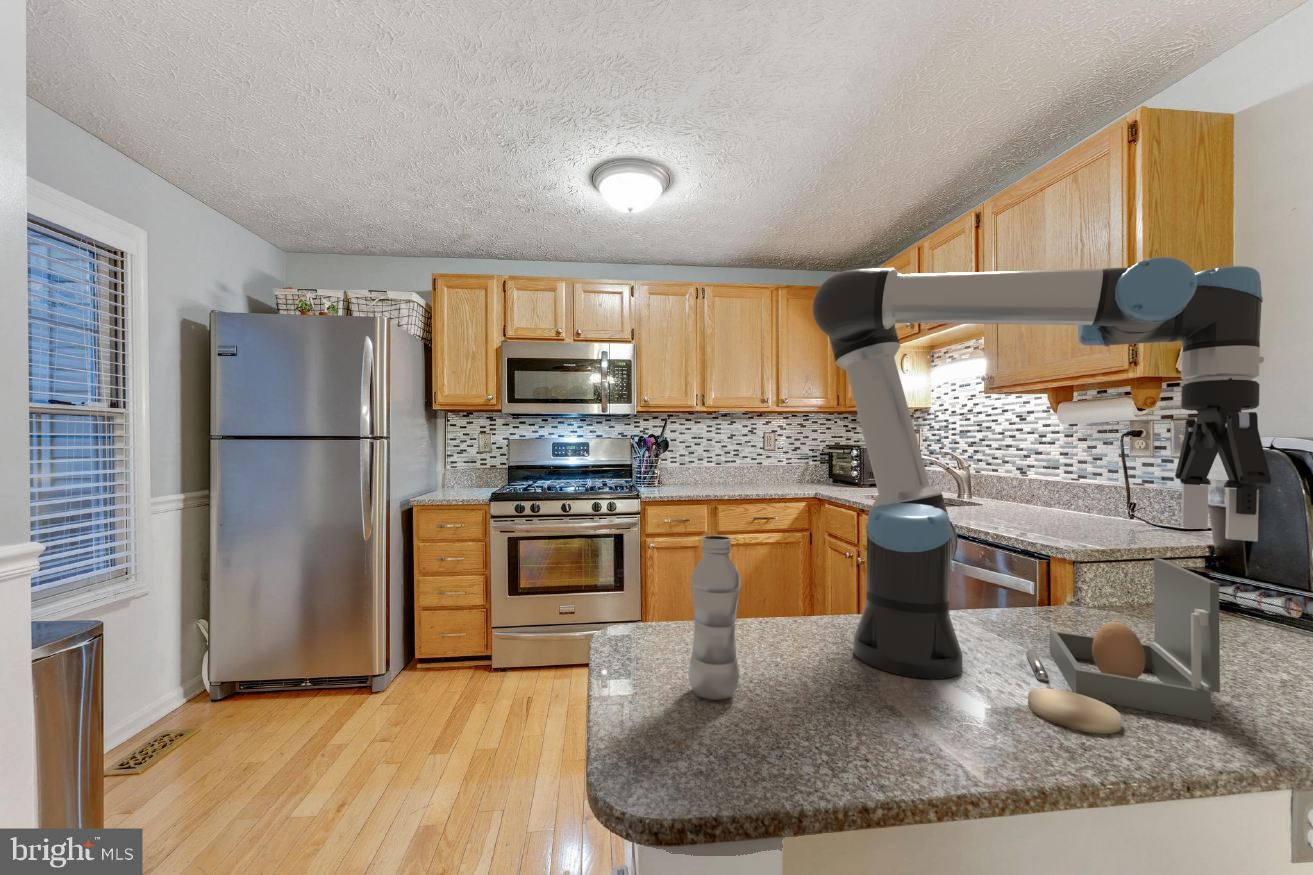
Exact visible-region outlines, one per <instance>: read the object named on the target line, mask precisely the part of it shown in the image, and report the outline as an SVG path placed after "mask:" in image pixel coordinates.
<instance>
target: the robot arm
mask: <svg viewBox="0 0 1313 875" xmlns="http://www.w3.org/2000/svg"><path fill="white" fill-rule="evenodd" d="M1262 294H1263V293H1262V281H1261V274H1260V272H1259V271H1258V270H1257V269H1255V268H1253V267H1250V266H1244V265H1234V266H1233V265H1232V266H1231V265H1230V266H1223V267H1216V268H1213V269H1205V270H1201V271H1198V272H1194V270H1193V269H1192V268H1191V267H1190V265H1188V264H1187V263H1186V262H1185V261H1182V260H1180V259H1177V258H1175V257H1174V258H1173V257H1170V256H1168V257H1167V256H1163V257H1162V256H1158V257H1151V258H1147V259H1144V260H1141V261H1139V262H1138V263H1135V264H1133V265H1132V266H1130V267H1129V266H1128V267H1110V268H1109V267H1107V268H1090V269H1088V268H1087V269H1086V268H1085V269H1083V268H1082V269H1079V268H1078V269H1055V270H1054V269H1051V270H1050V269H1049V270H1016V271H1013V270H1011V271H984V272H983V271H978V272H975V271H974V272H945V273H941V272H940V273H910V274H908V273H906V274H902V273H900V272H899V271H898V270H897V269H896V268H894V267H884V268H881V267H880V268H858V269H849V270H848V269H847V270H844V271H841V272H838V273H836V274H833V275H832V276H830V277H828V278H827V279H826V280H825V281H824V282H823V283H822V284H821V285H820V286H819V288H818V289H817V291H816V293H815V295H814V298H813V302H812V303H813V304H812V314H813V319H814V321H815V323H816V325H817V326H818V328H819V329H820V330H821V331H822V332H823V333H824V334H825V335H827V336H828V338H829V342H830V346H831V349H832V353H833V358H834V361H835V365H836V366H837V367H840V368H841V369H843V370H845V371H846V373H847V378H848V382H849V386H850V389H851V393H852V397H853V401H854V405H855V409H856V412H857V417H858V419H859V424H860V428H861V431H862V432H861V433H862V435H863V439H864V442H865V447H866V450H867V455H868V458H869V462H870V465H871V469H872V474H873V478H874V480H875V481H874V482H875V485H876V489H877V493H878V494H877V497H876V498H875V500H874V502H873V503H872V508H871V509H870V510H869V511H868V515H867V521H866V522H867V523H866V525H865V531H866V533H865V534H866V588H865V589H866V590H865V591H866V592H865V593H866V594H865V595H866V598H865V606H864V608H863V611H862V613H861V617H860V619H859V622H858V624H857V628H856V630H855V632H854V633H855V634H854V636H853V653H854V655H855V656H856V657H857V659H859V660H860V661H861V662H863V663H865V664H867V665H869V666H871V667H874V668H876V669H878V670H882V671H885V672H888V673H892V674H894V675H895V674H896V675H900V676H905V677H911V678H918V679H930V680H931V679H947V678H948V679H949V678H953V677H956V676H958V675H960V674H961V673H962V671H963V651H962V650H961V646H960V644H959V640H958V638H957V637H958V636H957V634H956V632H955V628H954V625H953V622H952V619H951V615H950V582H951V581H950V579H951V578H950V576H951V575H950V572H951V568H950V567H951V563H952V561H953V559H954V558H955V556H956V553H957V550H958V542H959V541H958V533H957V530H956V528H955V525H953V522H952V521H951V520H950V517H949V514H948V510H947V506H946V503H945V500H944V499H945V498H944V496H943V493H942V491H941V490H939V489H937V488H935V487H933V486H932V484H930V482H929V477H928V474H927V470H926V467H925V463H924V460H923V455H922V453H921V449H920V445H919V442H918V438H917V434H916V430H915V428H914V423H913V420H912V416H911V411H910V409H909V404H908V402H907V398H906V396H905V391H904V388H903V384H902V381H901V380H902V379H901V377H900V373H899V369H898V366H897V363H896V359H895V357H896V355H897V353H898V352H899V350H900V349H901V343H900V340H899V339H900V338H899V336H898V332H897V328H896V324H949V325H951V324H953V325H954V324H955V325H956V324H957V325H958V324H961V325H964V324H965V325H1034V326H1035V325H1037V326H1039V325H1042V326H1043V325H1046V326H1047V325H1048V326H1049V325H1052V326H1053V325H1054V326H1058V325H1059V326H1061V325H1062V326H1077V337H1078V338H1077V339H1078V341H1079V343H1080V344H1081V345H1083V346H1089V347H1090V346H1091V347H1092V346H1093V347H1095V346H1098V347H1100V346H1103V347H1110V346H1118V345H1119V346H1120V345H1133V344H1134V345H1136V344H1137V345H1138V344H1139V345H1140V344H1154V343H1174V342H1181V343H1182V344H1181V345H1182V353H1181V370H1180V372H1181V373H1180V378H1181V380H1182V381H1184V382H1186V383H1183V385H1182V386H1181V392H1180V393H1181V398H1180V399H1181V401H1180V406H1181V408H1182V409H1183V410H1185V411H1189V412H1191V411H1196V412H1197V415H1196V417H1197V418H1187V419H1186V421H1185V426H1184V428H1185V430H1184V436H1183V440H1182V445H1181V447H1180V448H1181V449H1180V454H1179V457H1178V463H1177V467H1176V470H1175V474H1174V478H1175V479H1177V480H1179V481H1180V484H1181V515H1180V517H1181V518H1180V520H1181V521H1180V527H1181V528H1187V529H1189V528H1190V529H1200V530H1201V529H1202V530H1208V528H1209V527H1208V524H1209V522H1208V521H1209V520H1208V519H1209V486H1211V485H1212V483H1211V480H1210V478H1208V476H1209V473H1210V471H1211V469H1212V466H1213V464H1214V462H1215V460H1216V458H1217V455H1218V456H1219V458H1220V460H1221V462H1222V465H1223V468H1224V471H1225V473H1226V474H1225V475H1226V476H1227V480H1226V481H1225V483H1224V484H1223V487H1224V488H1225V489H1226V496H1225V497H1226V498H1225V502H1226V504H1225V537H1224V538H1225V539H1226V540H1235V541H1246V542H1247V541H1248V542H1258V541H1259V540H1258V539H1259V507H1260V506H1259V503H1260V502H1259V501H1260V499H1259V496H1260V495H1259V494H1260V491H1259V490H1262V488H1263V485H1264V486H1265V485H1266V486H1267V485H1268V486H1269V485H1270V484H1271V482H1272V478H1271V477H1272V476H1271V473H1270V470H1269V467H1268V463H1267V458H1266V455H1265V450H1264V447H1263V446H1264V445H1263V444H1262V439H1261V436H1260V431H1259V424H1258V413H1257V412H1256V411H1255V412H1254V411H1252V412H1251V411H1250V412H1249V411H1248V410H1254V409H1257V408H1258V407H1259V406H1260V386H1261V385H1260V383H1259V382H1258V381H1256V380H1253V379H1255V378H1257V377H1259V376H1260V364H1262V363H1263V362H1264V360H1265V357H1264V356H1260V352H1261V348H1260V347H1261V346H1260V344H1261V342H1260V339H1261V321H1262V320H1261V319H1262V318H1261V317H1262V303H1263V302H1264V300H1263V295H1262Z"/></svg>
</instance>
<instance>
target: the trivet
mask: <svg viewBox="0 0 1313 875" xmlns="http://www.w3.org/2000/svg"><path fill="white" fill-rule="evenodd" d="M1027 706H1028V708H1029V709H1030V710H1031V712H1033V713H1034V714H1036V715H1037V716H1038V717H1041V718H1042V719H1045V720H1046V721H1048V722H1051V723H1052V724H1053V723H1054V724H1055V725H1056V724H1057V725H1059V726H1061V727H1065V728H1068V729H1072V730H1076V731H1080V732H1083V733H1085V732H1086V733H1091V734H1099V735H1100V734H1101V735H1108V734H1109V735H1112V734H1116V733H1119V732H1120V731H1121V730H1122V715H1121V713H1120V712H1119V711H1118V710H1117V709H1115V708H1114V707H1112V706H1110V704H1108V703H1105V702H1101V701H1098V700H1096V699H1093V698H1090V697H1087V696H1084V695H1081V694H1077V693H1073V691H1067V690H1062V689H1054V688H1035V689H1032V690H1030V691H1028V693H1027Z"/></svg>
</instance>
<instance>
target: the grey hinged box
mask: <svg viewBox="0 0 1313 875" xmlns="http://www.w3.org/2000/svg"><path fill="white" fill-rule="evenodd" d="M1153 561H1154V562H1153V563H1154V564H1153V565H1154V567H1153V568H1154V569H1153V570H1154V571H1153V573H1154V574H1153V575H1154V583H1153V584H1154V588H1153V589H1154V590H1153V591H1154V597H1153V598H1154V599H1153V600H1154V601H1153V602H1154V615H1153V616H1154V641H1152V642H1151V644H1147V643H1142V642H1141V644H1142V646H1143V648H1144V652H1145V660H1146V662H1145V668H1144V670H1150V672H1152V674H1154V675H1155V676H1156V677H1157V678H1158V680H1160V681H1153V680H1147V679H1142V678H1131V677H1125V676H1119V675H1113V674H1107V673H1102V672H1101V671H1094V670H1088V669H1083V668H1082V667H1081V666H1080V664H1079V663H1078V661H1077V660H1076V659H1084V660H1089V661H1094V659H1093V656H1092V644H1093V639H1094V637H1095V636H1093V635H1092V636H1091V635H1085V634H1084V635H1083V634H1079V633H1072V632H1064V631H1057V630H1052V629H1051V630H1049V653H1050V655H1051V657H1052V658H1053V660H1054V661H1055V664H1056V666H1057V668H1058V669H1059V670H1060V672H1061V674H1062V676H1063V677H1064V679H1065V681H1066V682H1067V684H1068V686H1069V688H1070V689H1071V692H1073V693H1077V694H1081V695H1084V696H1087V697H1090V698H1093V699H1096V700H1098V701H1101V702H1103V703H1105V704H1109V705H1110V704H1111V705H1117V706H1121V707H1127V708H1133V709H1136V710H1137V709H1139V710H1143V711H1148V712H1154V713H1159V714H1163V713H1165V714H1164V715H1170V716H1174V715H1176V717H1179V716H1180V718H1185V717H1187V719H1190V720H1195V719H1196V721H1201V720H1203V721H1202V722H1207V723H1212V702H1211V699H1212V696H1215V693H1221V684H1220V683H1221V680H1220V679H1221V677H1220V672H1221V671H1220V669H1221V667H1220V666H1221V665H1220V664H1221V662H1220V660H1221V658H1220V656H1221V655H1220V654H1221V653H1220V647H1221V646H1220V583H1218V582H1216V581H1213V580H1211V579H1209V578H1207V577H1204V576H1202V575H1199V574H1198V573H1195V572H1192V571H1190V570H1189V569H1186V568H1185V567H1184V568H1183V567H1181V566H1179V565H1177V564H1175V563H1172V562H1170V561H1167V560H1165V559H1163V558H1159V557H1158V558H1156V557H1154V560H1153ZM1075 658H1076V659H1075ZM1177 715H1178V716H1177Z"/></svg>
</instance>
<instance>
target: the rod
mask: <svg viewBox="0 0 1313 875" xmlns="http://www.w3.org/2000/svg"><path fill="white" fill-rule="evenodd" d="M1025 653H1026V656H1027V659H1028V661H1029V664H1030V665H1031V668H1032V670H1033V672H1034V675H1035V677H1036V678H1037V680H1038V681H1041V682H1048V681H1049V675H1048V672H1047V671H1046V669H1045V666H1044V665H1043V663H1042V661H1041V659H1040V657H1039V655H1038V653H1037V652H1036V651H1035V650H1033V649H1028V650H1026V652H1025Z"/></svg>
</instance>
